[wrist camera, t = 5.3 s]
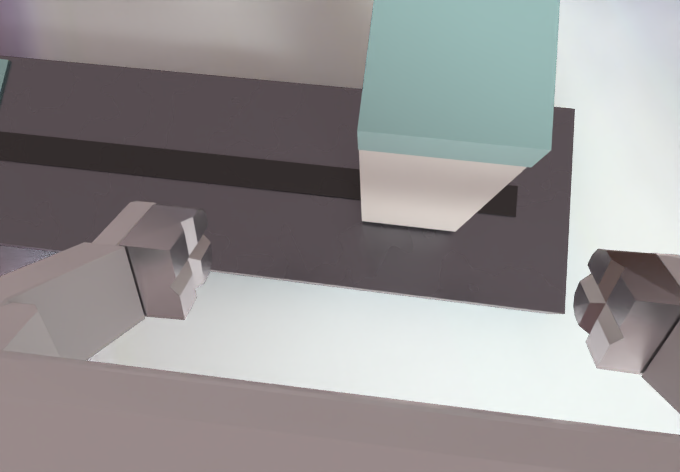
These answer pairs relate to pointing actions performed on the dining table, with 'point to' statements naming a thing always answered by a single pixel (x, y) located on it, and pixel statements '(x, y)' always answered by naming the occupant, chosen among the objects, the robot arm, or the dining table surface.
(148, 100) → the fader track
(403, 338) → the dining table surface
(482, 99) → the fader knob
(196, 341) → the dining table surface
